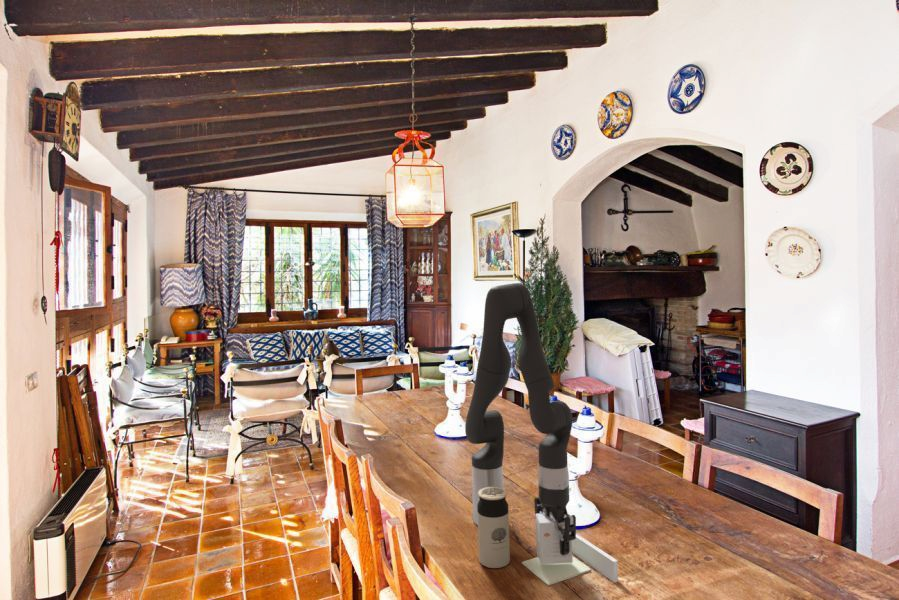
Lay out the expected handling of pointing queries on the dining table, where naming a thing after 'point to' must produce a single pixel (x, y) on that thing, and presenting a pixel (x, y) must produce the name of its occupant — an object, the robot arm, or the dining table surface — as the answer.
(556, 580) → the sage mat
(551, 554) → the small box
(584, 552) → the white wall
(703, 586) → the dining table surface
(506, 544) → the travel mug
